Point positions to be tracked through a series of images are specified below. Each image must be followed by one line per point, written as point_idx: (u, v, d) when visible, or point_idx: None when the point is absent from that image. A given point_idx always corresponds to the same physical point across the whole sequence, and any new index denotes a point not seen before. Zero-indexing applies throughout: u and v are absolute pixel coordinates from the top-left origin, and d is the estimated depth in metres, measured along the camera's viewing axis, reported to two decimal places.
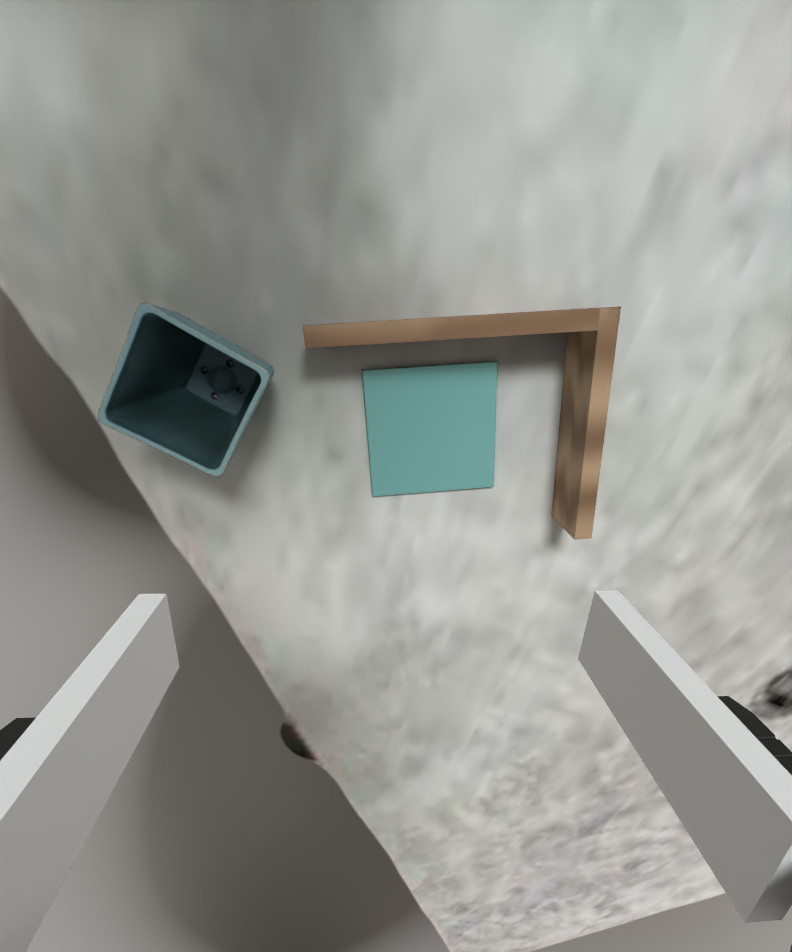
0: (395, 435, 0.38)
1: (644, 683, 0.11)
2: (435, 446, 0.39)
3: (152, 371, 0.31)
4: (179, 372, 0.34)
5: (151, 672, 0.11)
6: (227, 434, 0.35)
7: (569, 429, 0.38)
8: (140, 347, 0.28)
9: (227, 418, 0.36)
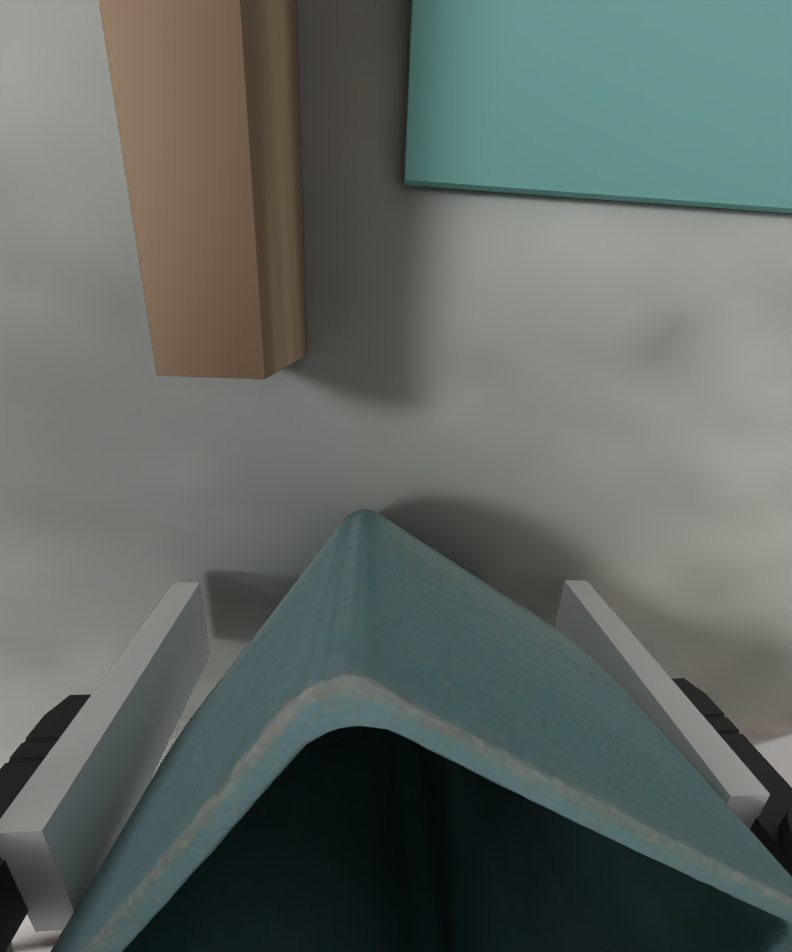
0: (682, 64, 0.09)
1: (605, 667, 0.11)
2: None
3: (335, 833, 0.11)
4: None
5: (187, 656, 0.12)
6: None
7: None
8: None
9: None
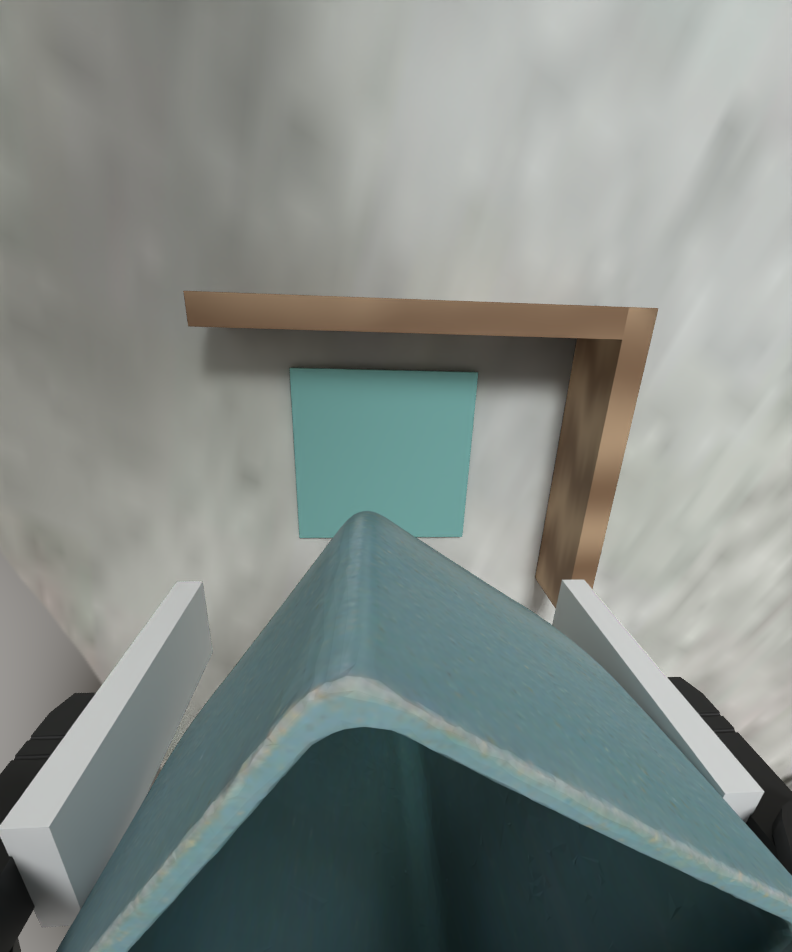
0: (332, 459, 0.28)
1: (602, 666, 0.11)
2: (386, 479, 0.29)
3: (338, 834, 0.11)
4: None
5: (191, 654, 0.12)
6: None
7: (568, 472, 0.28)
8: None
9: None
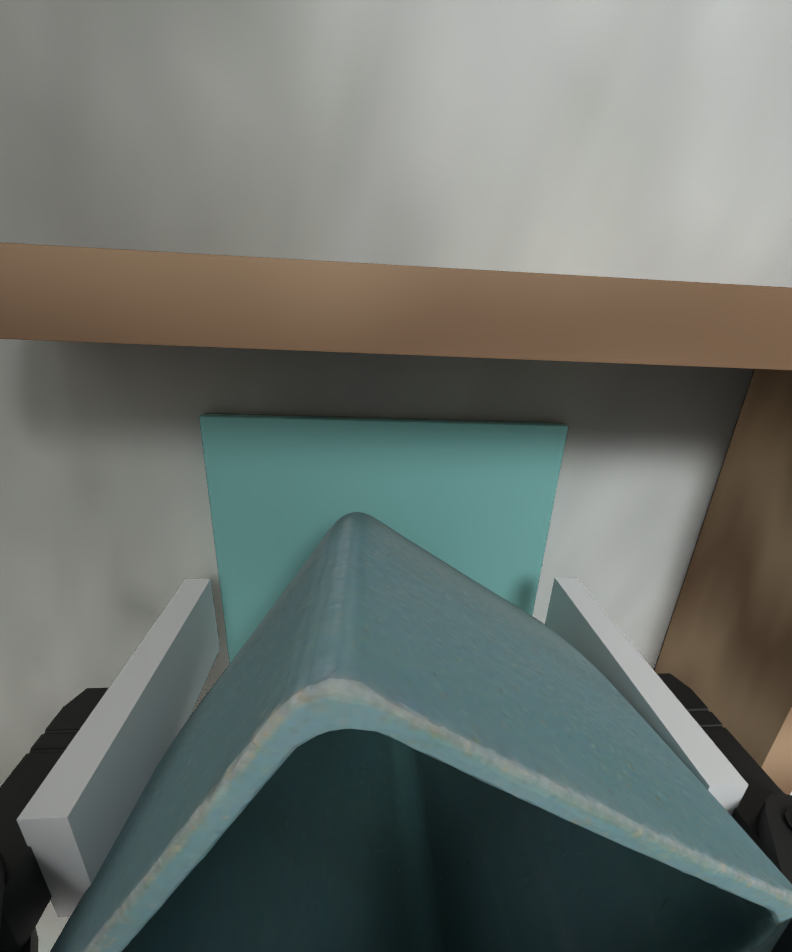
0: (289, 579, 0.15)
1: (593, 662, 0.11)
2: None
3: (332, 834, 0.11)
4: None
5: (199, 651, 0.12)
6: None
7: (726, 608, 0.15)
8: None
9: None
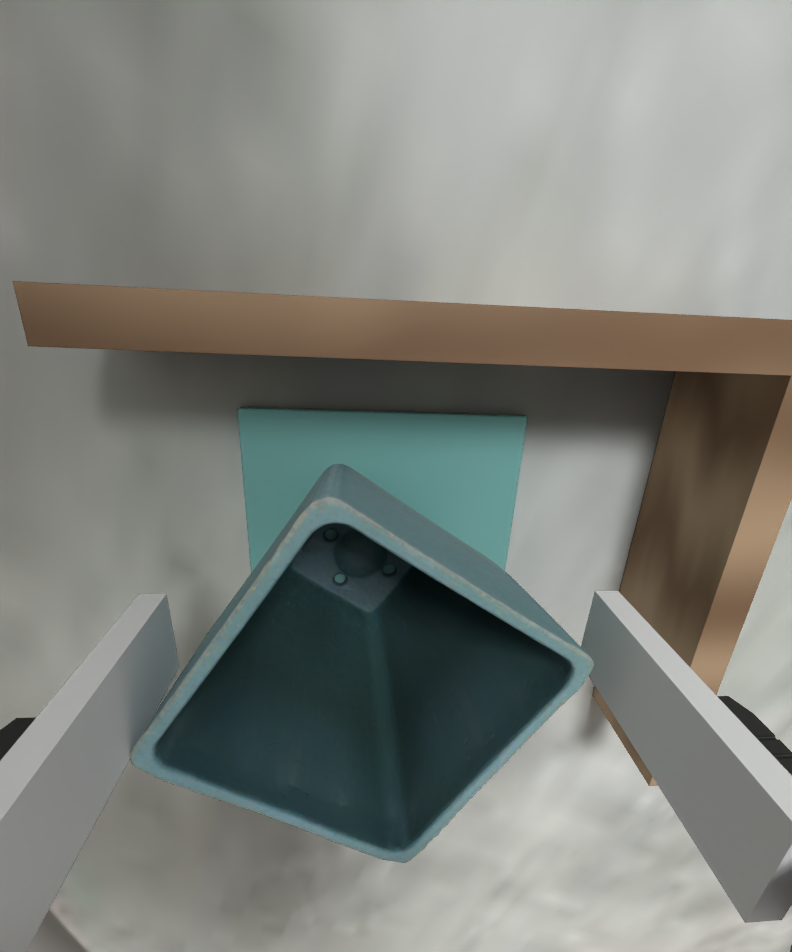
0: None
1: (644, 683, 0.11)
2: (386, 568, 0.20)
3: (324, 695, 0.15)
4: (338, 626, 0.18)
5: (151, 672, 0.11)
6: None
7: (659, 565, 0.19)
8: (255, 752, 0.12)
9: None
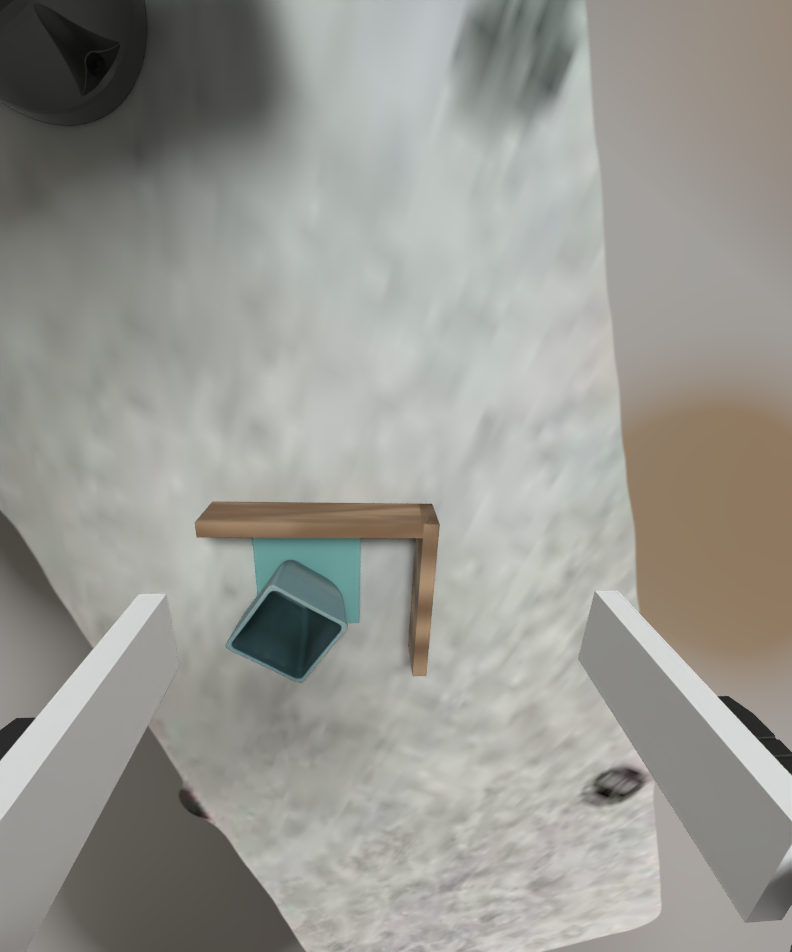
0: None
1: (644, 683, 0.11)
2: None
3: (281, 636, 0.45)
4: (290, 613, 0.48)
5: (151, 672, 0.11)
6: None
7: (414, 591, 0.48)
8: (257, 649, 0.42)
9: None
